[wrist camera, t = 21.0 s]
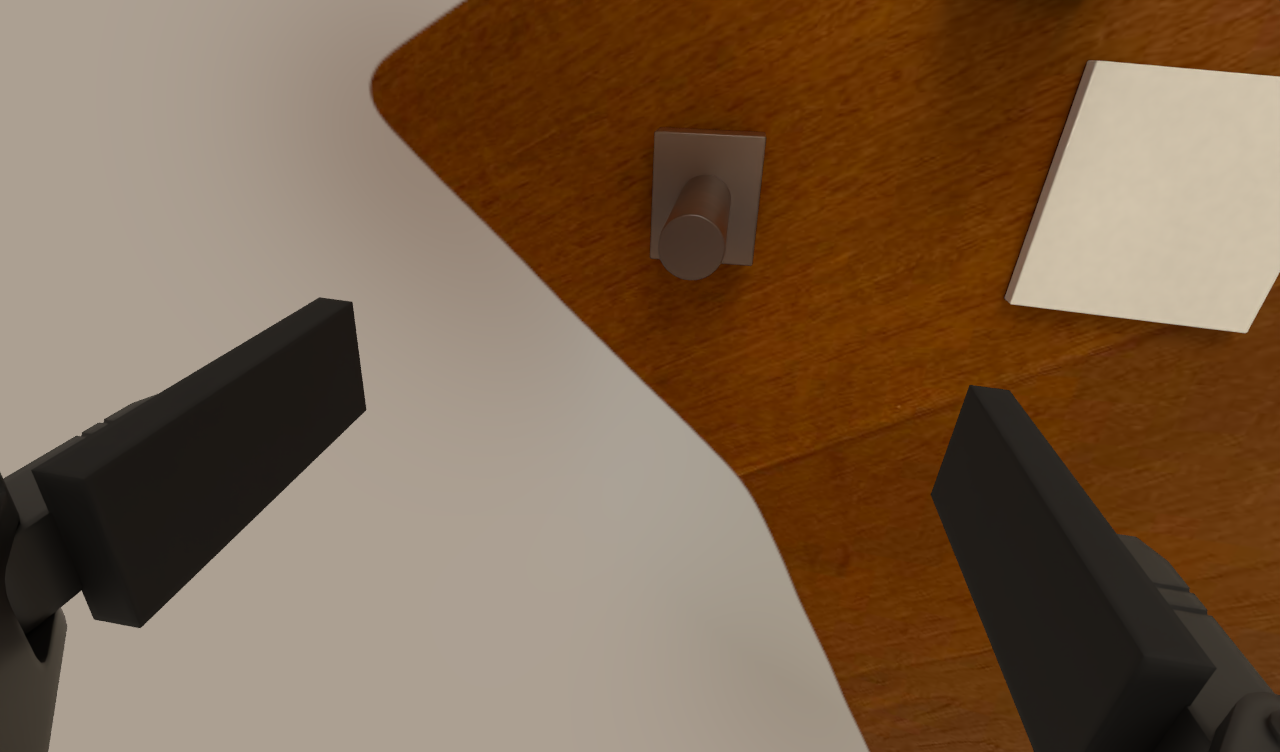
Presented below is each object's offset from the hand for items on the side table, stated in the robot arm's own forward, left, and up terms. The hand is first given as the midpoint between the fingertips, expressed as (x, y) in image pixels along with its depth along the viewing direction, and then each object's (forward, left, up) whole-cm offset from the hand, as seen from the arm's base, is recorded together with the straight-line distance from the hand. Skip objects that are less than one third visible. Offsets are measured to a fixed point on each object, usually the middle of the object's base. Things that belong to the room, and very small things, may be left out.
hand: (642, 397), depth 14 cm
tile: (-2, +23, -25) cm, 34 cm away
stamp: (0, 0, -25) cm, 25 cm away
